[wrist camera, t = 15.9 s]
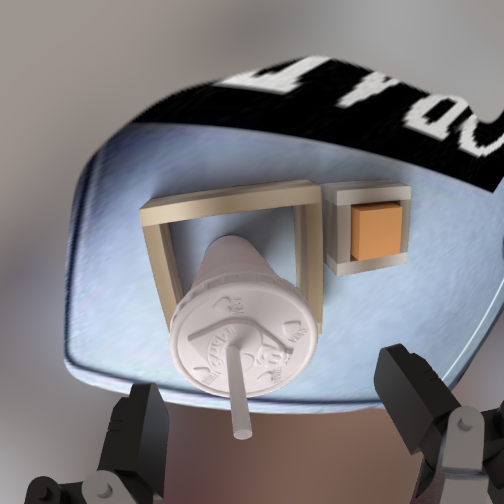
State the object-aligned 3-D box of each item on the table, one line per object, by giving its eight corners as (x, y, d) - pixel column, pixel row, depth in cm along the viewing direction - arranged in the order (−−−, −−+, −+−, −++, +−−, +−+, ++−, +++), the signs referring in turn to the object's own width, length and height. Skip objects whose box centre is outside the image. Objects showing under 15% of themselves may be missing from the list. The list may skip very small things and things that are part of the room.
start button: (383, 199, 19) (402, 207, 17) (382, 242, 20) (399, 253, 18) (343, 202, 19) (359, 211, 17) (343, 247, 20) (358, 261, 18)
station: (387, 174, 20) (411, 180, 17) (381, 296, 24) (398, 314, 21) (149, 199, 18) (138, 209, 16) (179, 331, 22) (176, 355, 19)
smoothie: (198, 204, 19) (171, 338, 6) (289, 230, 20) (397, 370, 7) (175, 288, 21) (146, 465, 8) (259, 308, 22) (307, 476, 9)
